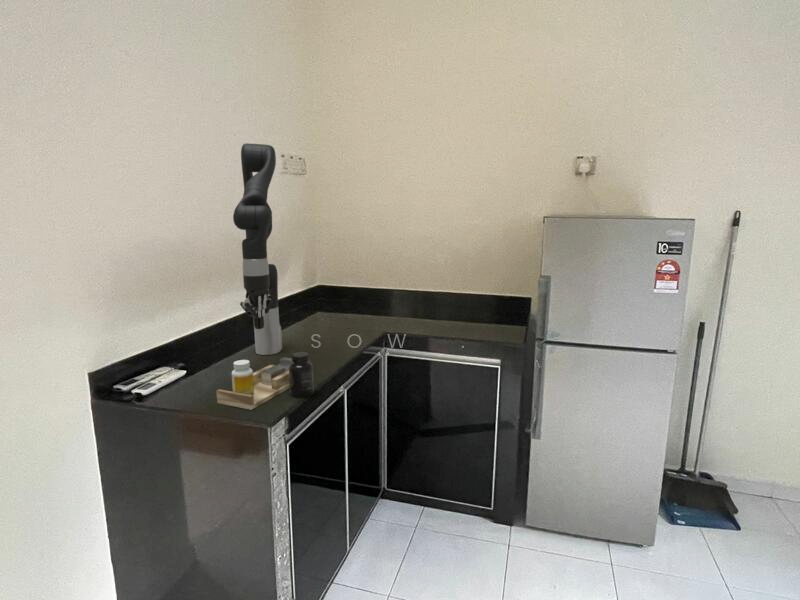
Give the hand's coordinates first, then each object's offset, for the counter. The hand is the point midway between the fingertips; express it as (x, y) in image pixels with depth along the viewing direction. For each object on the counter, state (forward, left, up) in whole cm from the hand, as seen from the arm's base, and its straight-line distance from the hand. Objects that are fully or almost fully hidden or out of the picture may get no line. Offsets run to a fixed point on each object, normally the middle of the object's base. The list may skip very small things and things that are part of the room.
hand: (259, 328), depth 148 cm
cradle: (+8, +6, -17) cm, 20 cm away
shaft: (-1, +6, -16) cm, 17 cm away
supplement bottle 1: (+15, +5, -16) cm, 22 cm away
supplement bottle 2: (+4, +18, -17) cm, 25 cm away
